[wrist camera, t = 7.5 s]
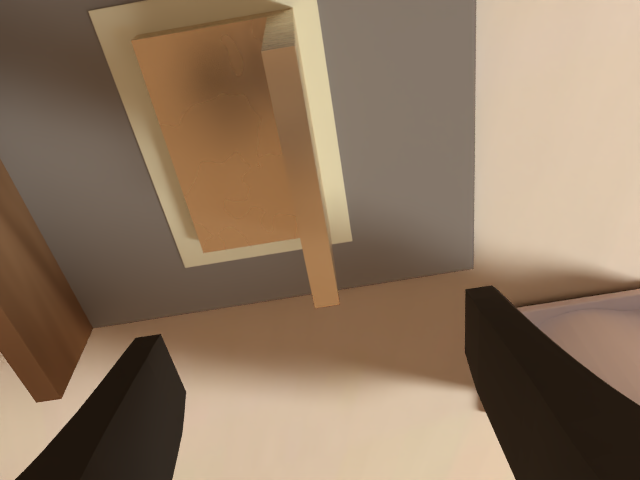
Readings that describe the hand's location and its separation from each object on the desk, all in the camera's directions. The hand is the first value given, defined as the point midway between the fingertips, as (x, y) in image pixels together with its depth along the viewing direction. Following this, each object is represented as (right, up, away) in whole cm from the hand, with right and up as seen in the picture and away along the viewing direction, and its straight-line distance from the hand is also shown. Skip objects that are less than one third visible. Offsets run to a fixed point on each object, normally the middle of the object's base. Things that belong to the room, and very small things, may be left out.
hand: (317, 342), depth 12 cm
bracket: (-3, +6, +6) cm, 9 cm away
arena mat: (-3, +7, +7) cm, 10 cm away
